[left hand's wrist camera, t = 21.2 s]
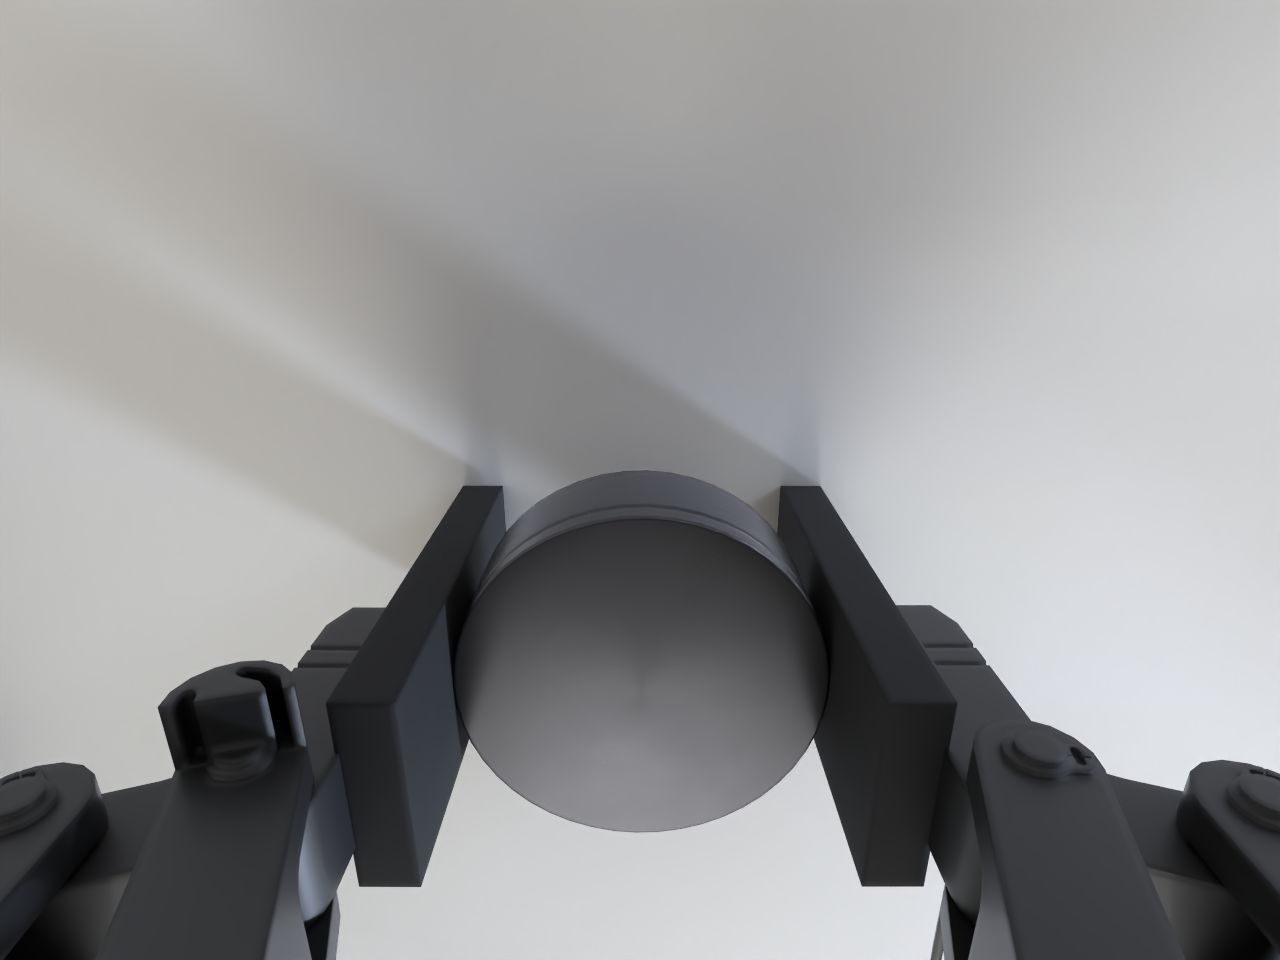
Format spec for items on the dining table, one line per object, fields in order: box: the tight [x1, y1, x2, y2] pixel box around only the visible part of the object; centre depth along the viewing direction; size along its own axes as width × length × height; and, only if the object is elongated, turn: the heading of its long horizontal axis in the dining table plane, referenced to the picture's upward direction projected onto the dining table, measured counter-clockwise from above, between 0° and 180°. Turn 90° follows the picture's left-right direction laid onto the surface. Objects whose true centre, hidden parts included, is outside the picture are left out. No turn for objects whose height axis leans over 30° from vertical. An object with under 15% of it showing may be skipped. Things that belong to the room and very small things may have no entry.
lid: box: [453, 471, 830, 832], centre depth 11 cm, size 5×5×2 cm
